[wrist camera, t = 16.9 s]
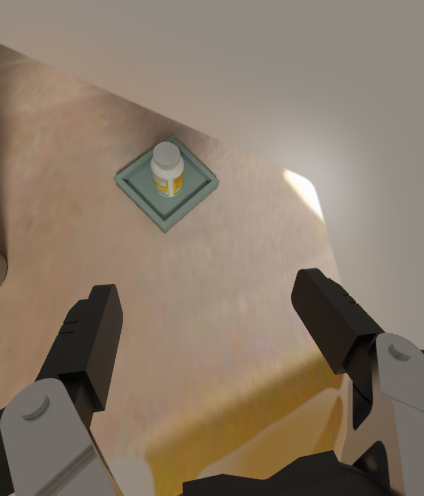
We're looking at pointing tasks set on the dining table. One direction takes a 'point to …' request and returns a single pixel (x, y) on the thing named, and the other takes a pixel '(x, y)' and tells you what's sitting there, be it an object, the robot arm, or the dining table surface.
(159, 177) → the supplement bottle
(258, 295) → the dining table surface
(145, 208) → the tray
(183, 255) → the dining table surface
